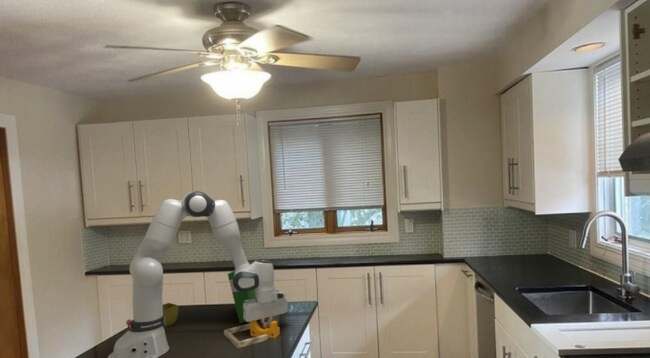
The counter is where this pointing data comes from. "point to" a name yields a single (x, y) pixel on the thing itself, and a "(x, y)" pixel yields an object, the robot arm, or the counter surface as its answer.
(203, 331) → the counter surface
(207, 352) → the counter surface
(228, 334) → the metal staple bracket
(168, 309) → the flower pot
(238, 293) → the hardback book
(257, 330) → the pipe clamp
